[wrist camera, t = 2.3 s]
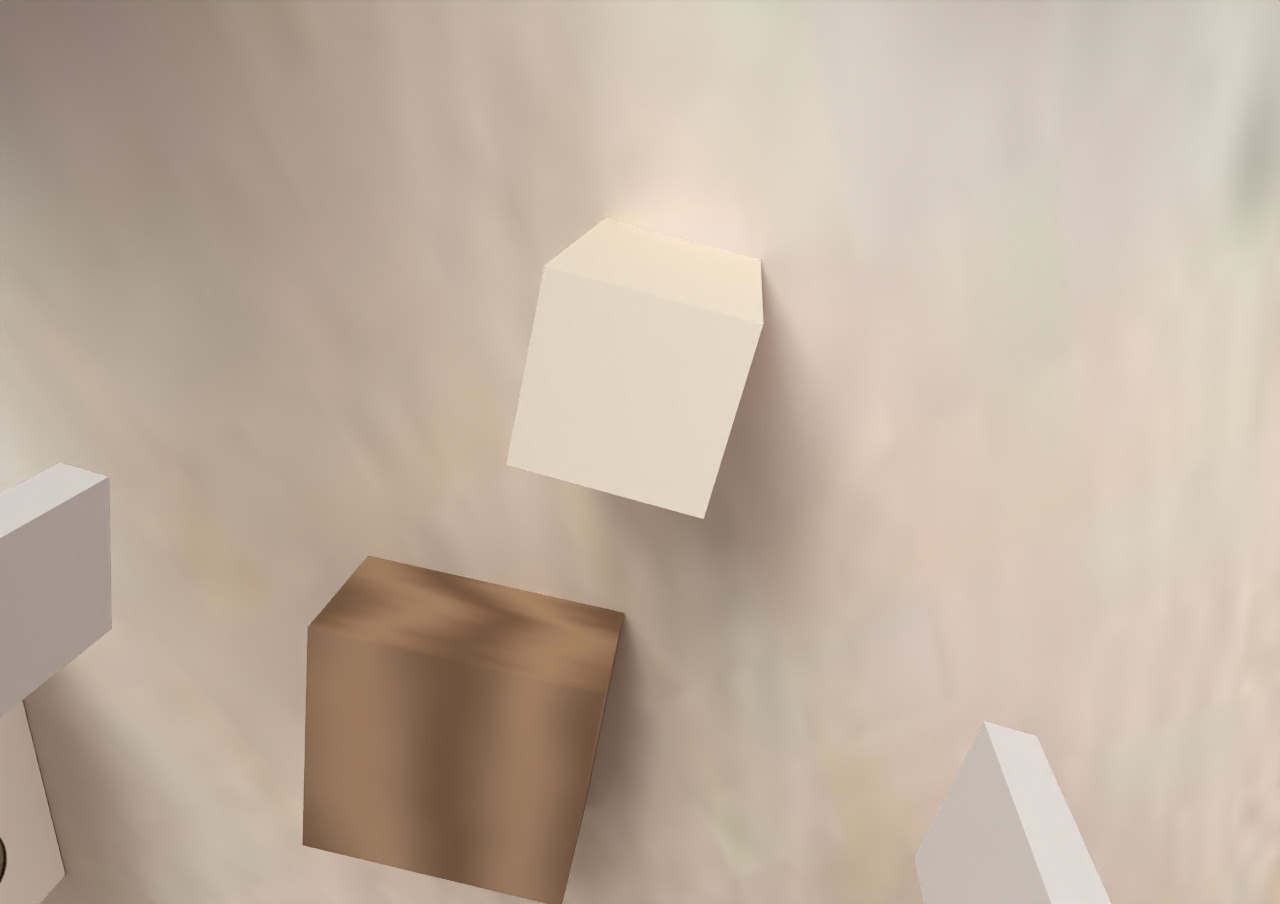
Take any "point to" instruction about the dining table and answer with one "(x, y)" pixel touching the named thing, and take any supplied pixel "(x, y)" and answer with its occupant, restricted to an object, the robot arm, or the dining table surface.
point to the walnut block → (454, 726)
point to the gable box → (24, 818)
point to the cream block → (637, 365)
